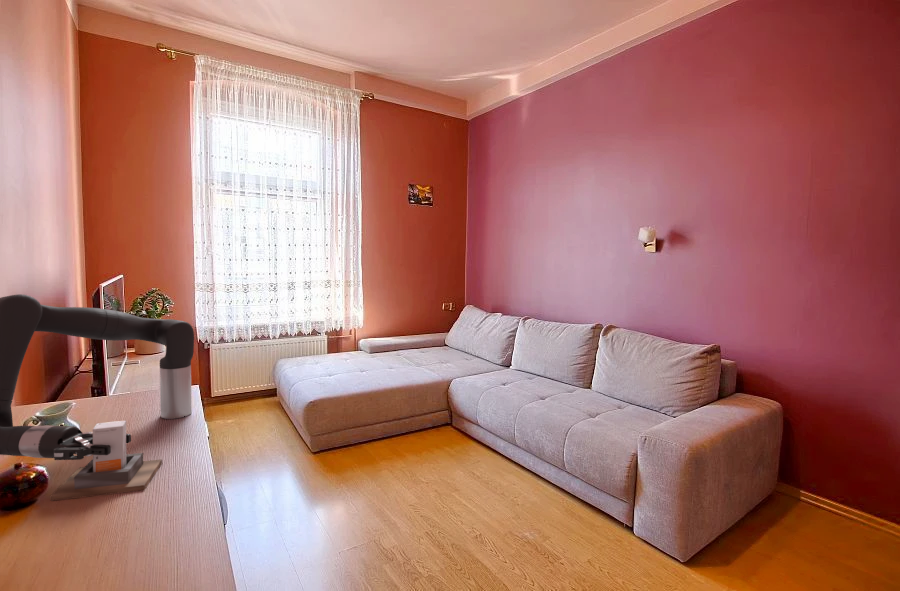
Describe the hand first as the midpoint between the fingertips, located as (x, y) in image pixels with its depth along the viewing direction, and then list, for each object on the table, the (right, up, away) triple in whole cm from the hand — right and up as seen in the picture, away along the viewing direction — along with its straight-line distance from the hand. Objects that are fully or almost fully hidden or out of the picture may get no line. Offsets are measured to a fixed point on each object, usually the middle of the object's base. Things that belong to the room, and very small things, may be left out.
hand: (120, 444), depth 108 cm
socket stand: (-3, -9, +1) cm, 10 cm away
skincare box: (-3, -7, +1) cm, 8 cm away
